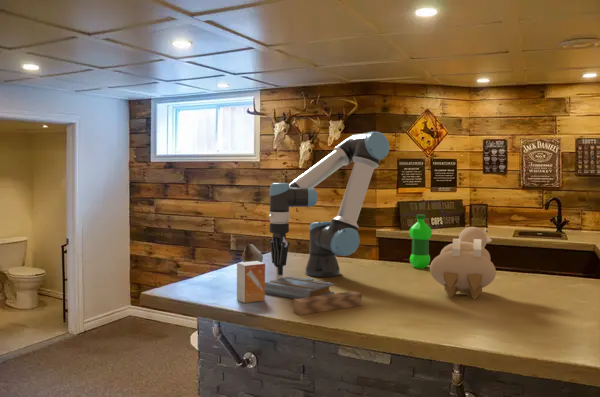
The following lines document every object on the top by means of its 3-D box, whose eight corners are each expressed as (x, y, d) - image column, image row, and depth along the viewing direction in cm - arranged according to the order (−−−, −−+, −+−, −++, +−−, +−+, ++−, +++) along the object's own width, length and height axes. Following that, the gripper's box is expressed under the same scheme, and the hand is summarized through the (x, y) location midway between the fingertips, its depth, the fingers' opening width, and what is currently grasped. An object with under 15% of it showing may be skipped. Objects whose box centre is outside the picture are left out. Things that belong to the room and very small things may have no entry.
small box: (244, 303, 165) (244, 265, 165) (236, 299, 171) (236, 262, 170) (265, 300, 170) (265, 263, 169) (256, 296, 175) (256, 260, 175)
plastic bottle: (433, 269, 227) (434, 215, 226) (410, 269, 227) (411, 215, 226) (428, 265, 237) (429, 214, 236) (406, 265, 237) (407, 213, 236)
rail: (354, 302, 168) (354, 290, 168) (361, 305, 164) (361, 293, 164) (293, 311, 156) (293, 299, 156) (299, 314, 152) (299, 302, 152)
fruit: (245, 265, 233) (245, 240, 232) (264, 266, 232) (264, 241, 231) (240, 270, 223) (240, 243, 222) (260, 270, 222) (260, 244, 221)
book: (262, 294, 180) (262, 281, 180) (289, 286, 193) (289, 273, 193) (308, 303, 168) (308, 289, 167) (334, 294, 181) (334, 281, 181)
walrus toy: (497, 205, 172) (430, 204, 180) (498, 275, 156) (425, 270, 163) (493, 252, 194) (434, 249, 202) (494, 317, 178) (430, 311, 185)
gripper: (263, 221, 193) (263, 280, 195) (278, 224, 182) (277, 287, 183) (280, 220, 197) (279, 278, 198) (295, 223, 186) (295, 285, 187)
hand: (278, 282), depth 191 cm, fingers closed
